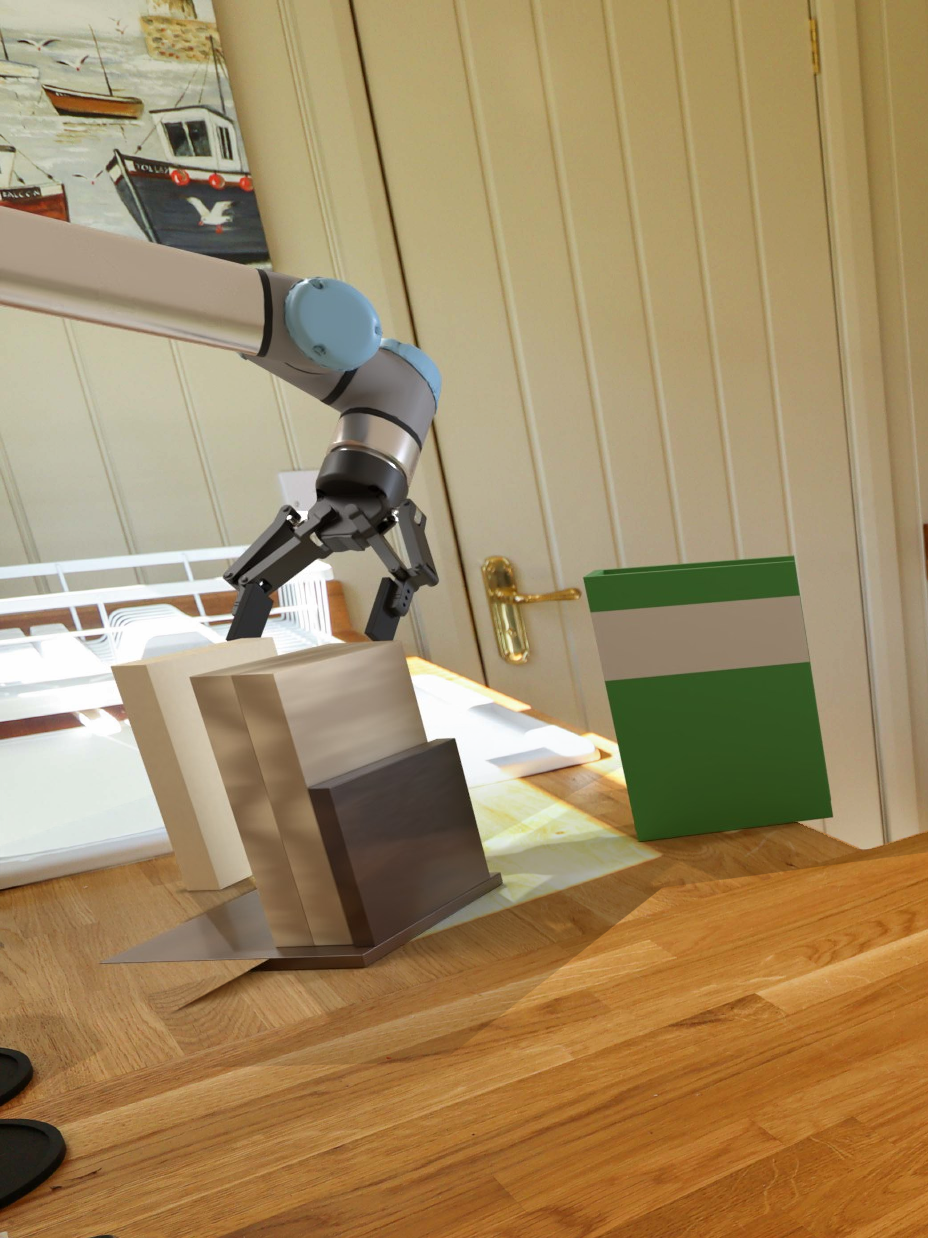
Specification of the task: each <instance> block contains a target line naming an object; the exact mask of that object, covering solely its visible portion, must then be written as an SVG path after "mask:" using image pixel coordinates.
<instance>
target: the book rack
mask: <svg viewBox="0 0 928 1238" xmlns="http://www.w3.org/2000/svg"><path fill="white" fill-rule="evenodd" d="M189 678H190V681H191V684H192V688H193V691H194V694H195V697H196V700H197V703H198V706H199V709H200V713H201V716H202V719H203V722H204V725H205V728H206V731H207V734H208V737H209V741H210V744H211V747H212V750H213V753H214V756H215V759H216V762H217V765H218V769H219V772H220V775H221V778H222V781H223V784H224V787H225V790H226V793H227V797H228V800H229V803H230V806H231V809H232V812H233V815H234V818H235V821H236V825H237V828H238V831H239V834H240V837H241V840H242V843H243V846H244V850H245V853H246V856H247V859H248V862H249V865H250V868H251V871H252V874H253V875H252V877H253V880H254V884H255V887H256V889H254V890H251V891H249V892H248V893H244V894H243V895H240V896H239V897H237V898H234V899H232V900H230V901H228V902H226V903H224V904H222V905H219V906H218V907H216V908H213V909H211V910H209V911H207V912H204V913H202V914H200V915H199V916H195V917H194V918H191V919H190V920H188V921H185V922H182V923H181V924H179V925H177V926H175V927H171V928H170V929H169V930H166V931H164V932H162V933H160V934H158V935H155V936H153V937H151V938H149V939H146V940H145V941H142V942H140V943H138V944H136V945H134V946H132V947H130V948H128V949H125V950H124V951H121V952H119V953H117V954H115V955H113V956H111V957H108V958H106V959H104V960H102V961H100V962H99V963H98V964H99V965H107V964H109V965H110V964H141V963H145V964H146V963H175V962H177V963H178V962H207V961H210V962H211V961H212V962H213V961H243V960H244V961H245V960H246V961H247V960H264V961H263V962H261V963H259V964H257V965H255V966H253V967H252V968H249V969H248V970H247V972H253V971H255V972H256V971H285V970H286V971H288V970H289V971H291V970H321V969H323V970H324V969H326V970H327V969H353V968H354V969H358V968H367V967H368V966H370V965H372V964H374V963H376V962H377V961H378V960H381V959H382V958H383V957H385V956H387V955H388V954H390V953H392V952H393V951H395V950H396V949H398V948H399V947H401V946H402V945H405V944H406V943H408V942H410V941H412V940H413V939H414V938H416V937H418V936H419V935H420V934H423V933H424V932H426V931H427V930H429V929H431V928H433V927H434V926H435V925H437V924H438V923H440V922H442V921H443V920H445V919H446V918H448V917H450V916H451V915H453V914H455V913H456V912H458V911H460V910H461V909H463V908H465V907H467V906H468V905H470V904H472V903H473V902H475V901H476V900H478V899H479V898H481V897H482V896H484V895H486V894H487V893H489V892H490V891H492V890H494V889H495V888H497V887H498V886H501V885H502V884H503V883H504V880H503V876H502V873H501V872H500V871H498V872H497V871H495V872H491V871H490V870H489V866H488V861H487V858H486V854H485V850H484V845H483V842H482V838H481V834H480V831H479V826H478V823H477V819H476V815H475V811H474V807H473V804H472V803H473V802H472V799H471V798H472V797H471V795H470V791H469V787H468V783H467V779H466V775H465V771H464V768H463V767H464V766H463V764H462V759H461V755H460V751H459V748H458V744H457V740H456V739H457V738H456V737H446V738H445V737H444V738H435V739H432V740H429V741H428V737H427V734H426V730H425V725H424V722H423V718H422V714H421V709H420V707H419V702H418V699H417V694H416V692H415V688H414V683H413V679H412V676H411V671H410V667H409V664H408V660H407V656H406V653H405V649H404V645H403V642H402V640H400V639H399V640H397V639H396V640H393V641H374V642H373V641H353V642H333V643H332V642H331V643H330V642H329V643H325V644H321V645H317V646H312V647H308V648H304V649H300V650H295V651H291V652H287V653H282V654H278V656H274V657H270V658H265V659H261V660H257V661H253V662H249V663H244V664H240V665H236V666H232V667H227V668H223V669H219V670H215V671H211V672H206V673H202V674H198V675H194V676H190V677H189Z"/></svg>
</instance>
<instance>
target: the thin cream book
mask: <svg viewBox="0 0 928 1238" xmlns="http://www.w3.org/2000/svg"><path fill="white" fill-rule="evenodd" d="M278 655H279V653H278V651H277V647H276V643H275V640H274V637H273V636H269V637H268V636H265V637H261V638H241V639H236V640H232V641H227V640H226V641H223V642H219V643H215V644H214V643H213V644H209V645H203V646H199V647H194V648H189V649H184V650H180V651H176V652H171V653H167V654H160V655H155V656H151V657H147V658H141V659H138V660H133V661H128V662H124V663H119V664H115V665H110V671H111V673H112V675H113V679H114V681H115V684H116V687H117V690H118V693H119V696H120V700H121V701H122V705H123V708H124V710H125V713H126V715H127V716H126V717H127V719H128V723H129V725H130V728H131V731H132V734H133V737H134V740H135V742H136V743H135V744H136V746H137V749H138V751H139V755H140V757H141V760H142V763H143V765H144V769H145V772H146V775H147V778H148V781H149V784H150V787H151V789H152V793H153V795H154V799H155V801H156V804H157V807H158V810H159V813H160V816H161V818H162V821H163V824H164V828H165V831H166V833H167V837H168V839H169V841H170V845H171V848H172V851H173V854H174V857H175V860H176V863H177V866H178V868H179V871H180V874H181V878H182V880H183V883H184V886H185V889H186V891H187V892H188V891H189V892H190V891H191V892H192V891H193V892H194V891H218V890H219V891H220V890H223V889H225V888H227V887H230V886H232V885H234V884H236V883H238V882H240V881H243V880H244V879H247V878H249V877H253V874H252V871H251V868H250V865H249V862H248V859H247V856H246V853H245V850H244V846H243V843H242V840H241V837H240V834H239V831H238V828H237V825H236V821H235V818H234V815H233V812H232V809H231V806H230V803H229V800H228V797H227V793H226V790H225V787H224V784H223V781H222V778H221V775H220V772H219V769H218V765H217V762H216V759H215V756H214V753H213V750H212V747H211V744H210V741H209V737H208V734H207V731H206V728H205V725H204V722H203V719H202V716H201V713H200V709H199V706H198V703H197V700H196V697H195V694H194V691H193V688H192V684H191V681H190V678H189V677H190V676H194V675H198V674H202V673H206V672H211V671H215V670H219V669H223V668H227V667H232V666H236V665H240V664H244V663H249V662H253V661H257V660H261V659H265V658H270V657H274V656H278Z"/></svg>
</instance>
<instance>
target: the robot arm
mask: <svg viewBox="0 0 928 1238" xmlns="http://www.w3.org/2000/svg"><path fill="white" fill-rule="evenodd" d="M0 306H1V307H4V308H9V309H10V308H11V309H13V310H14V309H15V310H19V311H25V312H29V313H36V314H41V315H45V316H50V317H56V318H59V319H60V318H61V319H66V320H71V321H76V322H82V323H87V324H92V325H96V326H101V327H107V328H113V329H117V330H123V331H126V332H132V333H137V334H142V335H148V336H153V337H159V338H163V339H167V340H174V341H178V342H183V343H189V344H193V345H194V344H195V345H199V346H203V347H209V348H215V349H220V350H225V351H229V352H234V353H236V354H237V355H238V356H239V357H240V358H241V359H243V360H245V361H247V360H248V361H250V362H251V363H253V364H254V365H256V366H258V367H260V368H262V369H263V370H265V371H267V372H269V373H271V374H273V375H274V376H276V377H278V378H279V379H282V380H283V381H285V382H287V383H288V384H290V385H291V386H293V387H296V388H297V389H299V390H301V391H303V392H304V393H305V394H307V395H309V396H311V397H313V398H314V399H317V400H318V401H320V402H321V403H323V404H324V405H326V406H328V407H330V408H332V409H334V410H335V411H337V412H338V413H340V415H339V418H338V421H337V422H336V423H337V424H336V426H335V429H334V431H333V433H332V436H331V439H330V442H329V444H328V446H327V449H326V452H325V454H326V456H325V457H324V458H323V461H322V464H321V466H320V469H319V472H318V475H317V477H316V479H315V483H314V484H315V485H314V487H315V494H316V501H315V502H314V504H313V506H311V508H310V509H309V510H308V511H307V510H296V508H294V507H293V506H292V505H291V504H283V505H282V506H281V507H280V508H279V510H278V512H277V513H276V516H275V517H274V520H273V522H272V523H271V524H269V526H267V528H266V529H265V530H264V531H263V532H262V533H261V534H260V535H259V536H258V537H257V538H256V539H255V541H253V542H252V544H250V546H249V547H248V548H247V549H246V550H245V551H243V553H242V554H241V555H240V556H239V557H238V558H237V559H236V560H235V561H234V562H233V564H232V565H230V567H228V569H226V570H225V572H224V573H223V574H222V579H223V580H224V581H225V582H226V583H228V584H229V585H230V586H231V587H232V588H233V589H235V590H236V591H237V596H236V598H235V601H234V603H233V606H232V608H231V616H232V617H233V619H232V621H231V624H230V627H229V629H228V632H227V634H226V637H225V641H226V642H227V641H232V640H236V639H241V638H262V636H263V633H264V631H265V627H266V625H267V622H268V620H269V617H270V615H271V611H272V609H273V605H274V604H275V600H274V599H273V598H272V597H270V596H271V595H272V594H273V593H275V592H276V591H277V590H280V588H281V587H282V586H284V585H285V584H287V583H288V582H289V581H291V580H292V579H293V578H294V577H296V576H297V575H298V574H300V573H301V572H302V571H303V570H305V569H306V568H308V567H309V566H310V565H311V564H313V563H314V562H315V561H317V560H326V559H327V558H328V557H329V556H331V555H332V554H333V553H344V552H348V551H354V552H365V551H366V549H367V548H370V547H371V548H372V550H373V551H374V552H375V554H376V555H377V556H378V558H379V559H380V560H381V562H382V563H383V565H384V566H385V567H386V569H387V572H388V573H389V574H390V575H391V576H392V577H393V578H394V579H392V578H391V577H390V576H383V577H381V580H380V583H379V586H378V589H377V592H376V595H375V598H374V602H373V604H372V608H371V610H370V614H369V617H368V620H367V622H366V626H365V629H364V632H363V633H364V635H365V636H367V638H369V639H370V640H371V642H374V641H394V639H395V636H396V633H397V629H398V626H399V623H400V620H401V618H403V617H406V616H407V614H408V613H409V610H410V607H411V603H412V601H413V597H414V595H415V594H414V593H417V592H418V591H419V590H420V588H421V587H423V586H427V587H429V588H434V587H436V586H437V585H438V584H439V582H440V578H439V576H438V575H439V574H438V571H437V568H436V565H435V561H434V559H433V556H432V555H433V554H432V552H431V548H430V545H429V541H428V538H427V535H426V532H425V531H426V526H427V520H428V519H427V515H426V514H425V513H424V512H423V511H422V510H421V509H420V508H419V506H417V504H416V503H415V502H414V501H413V500H412V499H411V498H408V496H409V491H410V490H409V489H410V487H411V485H412V482H413V479H414V475H415V472H416V470H417V466H418V463H419V460H420V457H421V453H422V451H423V450H422V449H423V446H424V444H425V441H426V439H427V436H428V433H429V432H430V431H429V430H430V427H431V425H432V422H433V419H434V417H435V415H436V414H437V412H438V408H439V400H440V396H441V391H442V382H443V381H442V380H443V379H442V375H441V372H440V370H439V368H438V365H437V364H436V363H435V362H434V361H433V359H432V358H431V357H430V356H429V355H428V354H427V353H426V352H424V351H423V350H422V349H420V348H419V347H417V346H415V345H413V344H411V343H404V342H400V341H399V340H398V339H395V338H393V337H383V334H384V333H383V328H382V324H381V319H380V316H379V314H378V312H377V309H376V308H375V307H374V304H372V302H371V301H370V299H368V297H366V295H364V294H363V293H362V292H361V291H360V290H358V289H357V288H356V287H354V286H352V285H351V284H349V283H348V282H345V281H342V280H340V279H337V278H332V277H322V276H313V277H312V276H310V277H306V278H301V277H296V276H292V275H289V274H285V273H280V272H275V271H271V270H266V269H262V268H257V267H254V266H251V265H247V264H243V263H238V262H234V261H230V260H226V259H222V258H218V257H214V256H209V255H206V254H201V253H198V252H194V251H189V250H185V249H180V248H177V247H173V246H168V245H164V244H160V243H156V242H152V241H148V240H143V239H139V238H135V237H131V236H127V235H124V234H119V233H115V232H111V231H106V230H103V229H98V228H94V227H90V226H86V225H82V224H77V223H74V222H69V221H65V220H61V219H58V218H57V219H56V218H53V217H49V216H45V215H40V214H36V213H31V212H28V211H24V210H20V209H16V208H11V207H8V206H3V205H0ZM397 524H398V527H399V531H400V533H401V536H402V540H403V543H404V546H405V550H406V553H407V557H408V560H409V564H410V567H409V568H408V567H407V566H406V565H405V563H404V561H402V559H401V558H400V557H399V555H398V554H397V553H396V551H395V549H394V547H393V546H392V544H391V543H390V542H389V541H388V539H387V538H386V536H385V535H386V534H387V533H389V532H390V531H391V530H392V529H394V527H395V526H396V525H397ZM313 534H314V535H315V536H316V538H317V539H318V540H319V541H320V542H321V543H322V544H321V545H318V544H317V543H315V542H314V540H312V538H311V536H312V535H313Z"/></svg>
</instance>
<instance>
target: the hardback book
mask: <svg viewBox="0 0 928 1238" xmlns="http://www.w3.org/2000/svg"><path fill="white" fill-rule="evenodd" d="M795 557H796V556H795V554H794V555H793V554H792V555H780V556H768V557H767V556H766V557H751V558H740V559H727V560H726V559H725V560H710V561H699V562H697V561H696V562H686V563H685V562H684V563H672V564H671V563H670V564H659V565H656V564H655V565H644V566H632V567H631V566H630V567H629V566H628V567H617V568H605V569H603V568H602V569H594V570H592V571H591V572H589V573H587V574H586V575H585V576H583V577H582V580H583V584H584V588H585V594H586V599H587V603H588V609H589V612H590V619H591V622H592V627H593V633H594V636H595V642H596V646H597V647H596V648H597V651H598V656H599V661H600V666H601V670H602V676H603V679H604V680H603V681H604V684H605V689H606V695H607V700H608V705H609V709H610V714H611V719H612V723H613V729H614V732H615V738H616V743H617V747H618V752H619V756H620V757H619V758H620V762H621V767H622V770H623V776H624V782H625V786H626V791H627V794H628V800H629V804H630V810H631V815H632V819H633V824H634V829H635V832H636V834H635V835H636V838H637V842H638V843H639V842H647V841H654V840H663V839H670V838H671V839H672V838H680V837H687V836H688V837H689V836H696V835H704V834H712V833H719V832H727V831H735V830H744V829H753V828H760V827H767V826H775V825H782V824H783V825H784V824H791V823H792V824H793V823H799V822H808V821H816V820H824V819H831V818H834V811H833V806H832V797H831V796H832V795H831V789H830V783H829V776H828V770H827V764H826V763H827V762H826V756H825V750H824V744H823V743H824V742H823V737H822V729H821V722H820V717H819V711H818V704H817V696H816V689H815V684H814V683H815V682H814V677H813V671H812V664H811V658H810V657H811V656H810V650H809V644H808V637H807V630H806V624H805V619H804V618H805V617H804V610H803V605H802V597H801V591H800V585H799V579H798V571H797V565H796V558H795Z"/></svg>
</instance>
